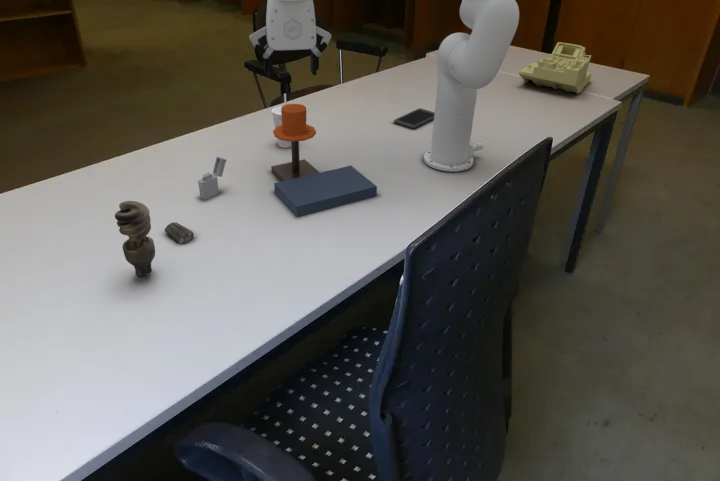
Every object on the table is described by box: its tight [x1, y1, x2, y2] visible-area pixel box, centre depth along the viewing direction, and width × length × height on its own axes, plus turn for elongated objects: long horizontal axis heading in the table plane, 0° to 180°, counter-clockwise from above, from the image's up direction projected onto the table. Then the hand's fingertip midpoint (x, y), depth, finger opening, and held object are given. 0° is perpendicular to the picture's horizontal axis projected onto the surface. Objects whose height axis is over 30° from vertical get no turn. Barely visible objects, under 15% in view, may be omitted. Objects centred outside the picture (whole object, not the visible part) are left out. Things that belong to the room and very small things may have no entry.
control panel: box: [518, 41, 593, 95], centre depth 199 cm, size 24×16×20 cm
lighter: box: [197, 156, 227, 201], centre depth 129 cm, size 7×2×8 cm, turn 142°
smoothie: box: [271, 93, 291, 149], centre depth 151 cm, size 6×6×14 cm
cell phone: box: [393, 107, 435, 130], centre depth 172 cm, size 7×14×1 cm, turn 141°
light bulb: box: [114, 200, 156, 279], centre depth 101 cm, size 6×6×15 cm
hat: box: [272, 103, 317, 142], centre depth 132 cm, size 10×10×6 cm
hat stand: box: [270, 141, 321, 182], centre depth 136 cm, size 9×9×14 cm
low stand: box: [273, 165, 378, 217], centre depth 132 cm, size 20×12×2 cm, turn 120°
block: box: [164, 221, 194, 244], centre depth 116 cm, size 4×6×2 cm, turn 52°
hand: (291, 74), depth 126 cm, fingers open, 9 cm apart
